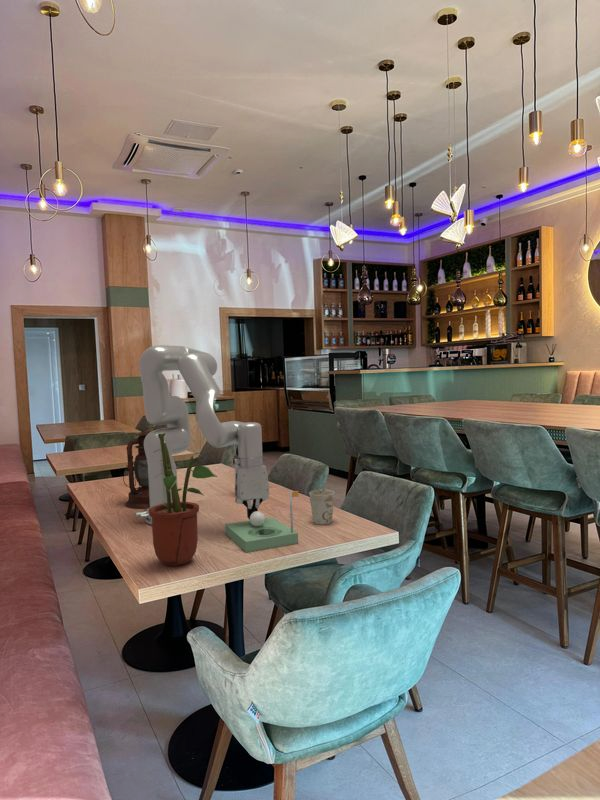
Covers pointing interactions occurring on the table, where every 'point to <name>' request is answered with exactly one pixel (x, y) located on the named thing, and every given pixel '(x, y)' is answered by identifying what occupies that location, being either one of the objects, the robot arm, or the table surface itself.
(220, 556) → the table surface
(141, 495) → the lantern
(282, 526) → the putting mat
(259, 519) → the ball
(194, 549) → the potted plant
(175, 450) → the robot arm
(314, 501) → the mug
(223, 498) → the table surface
